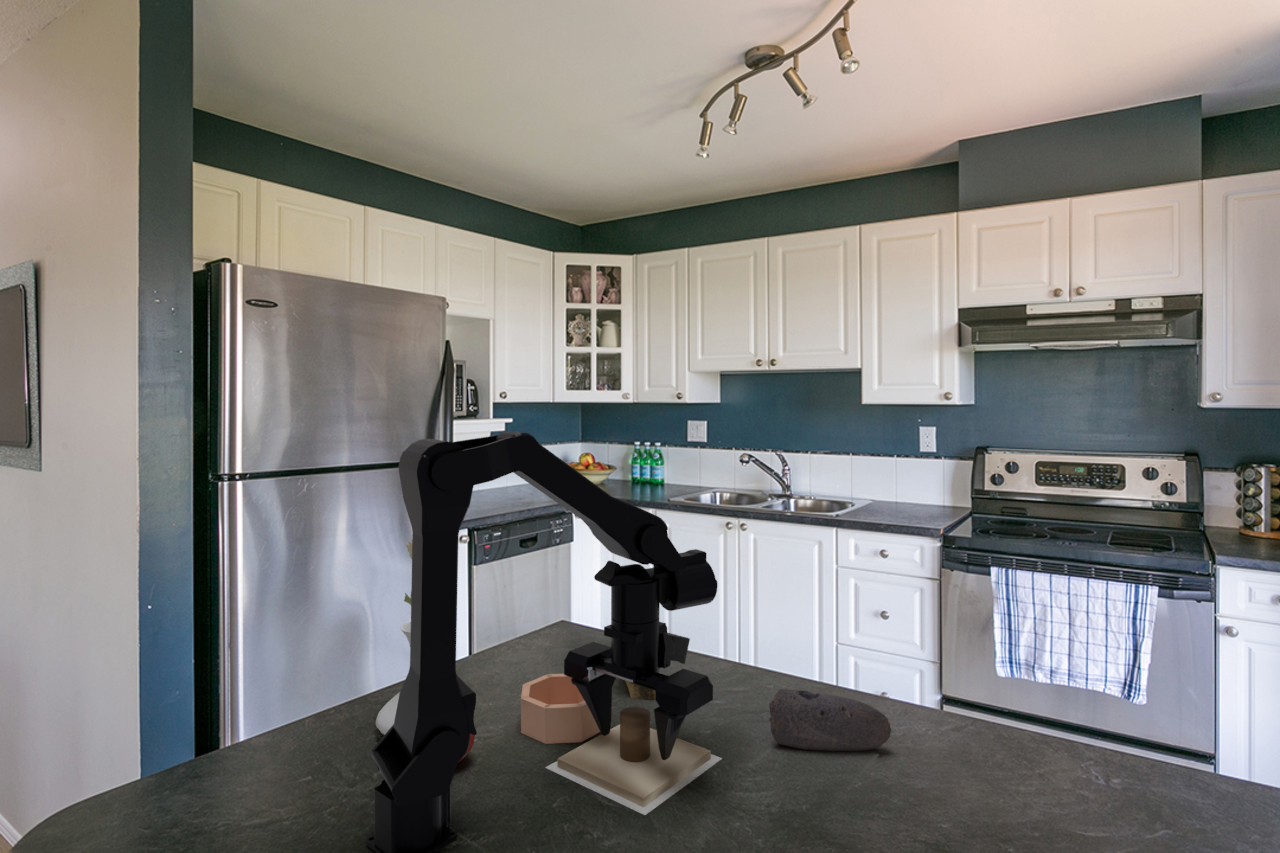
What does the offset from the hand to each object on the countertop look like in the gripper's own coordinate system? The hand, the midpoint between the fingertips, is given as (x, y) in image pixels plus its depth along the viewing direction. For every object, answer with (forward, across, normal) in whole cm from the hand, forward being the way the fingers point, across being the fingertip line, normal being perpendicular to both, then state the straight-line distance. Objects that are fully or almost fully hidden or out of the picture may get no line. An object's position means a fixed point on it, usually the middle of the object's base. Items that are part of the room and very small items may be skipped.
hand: (634, 746), depth 84 cm
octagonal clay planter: (+2, +14, -2) cm, 14 cm away
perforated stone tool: (+3, -16, -19) cm, 25 cm away
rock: (+3, +14, -18) cm, 23 cm away
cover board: (+2, 0, 0) cm, 2 cm away
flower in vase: (+3, +29, +10) cm, 31 cm away
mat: (+2, 0, 0) cm, 2 cm away
